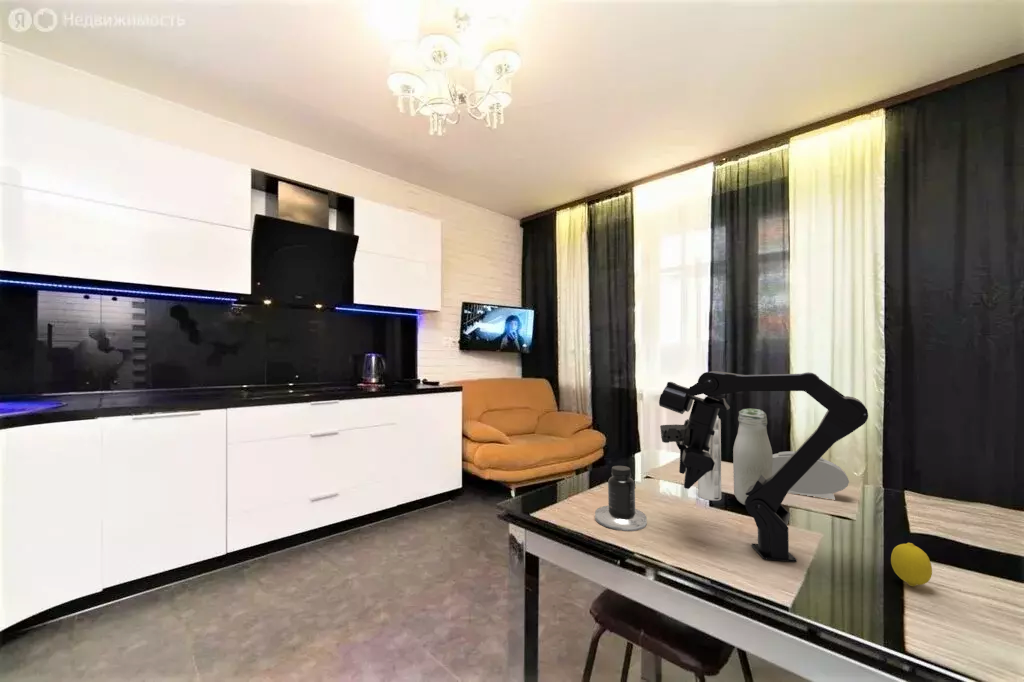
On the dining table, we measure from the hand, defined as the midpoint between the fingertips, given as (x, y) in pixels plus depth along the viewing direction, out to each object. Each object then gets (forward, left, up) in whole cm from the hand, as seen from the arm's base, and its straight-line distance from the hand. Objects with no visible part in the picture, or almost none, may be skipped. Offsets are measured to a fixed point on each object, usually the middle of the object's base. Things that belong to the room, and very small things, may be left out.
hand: (683, 480), depth 100 cm
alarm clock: (+36, -44, -13) cm, 58 cm away
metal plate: (+4, +15, -12) cm, 20 cm away
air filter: (+27, -14, -12) cm, 33 cm away
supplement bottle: (+4, +15, -11) cm, 19 cm away
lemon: (-18, -36, -12) cm, 42 cm away
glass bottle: (+21, -24, -12) cm, 34 cm away
